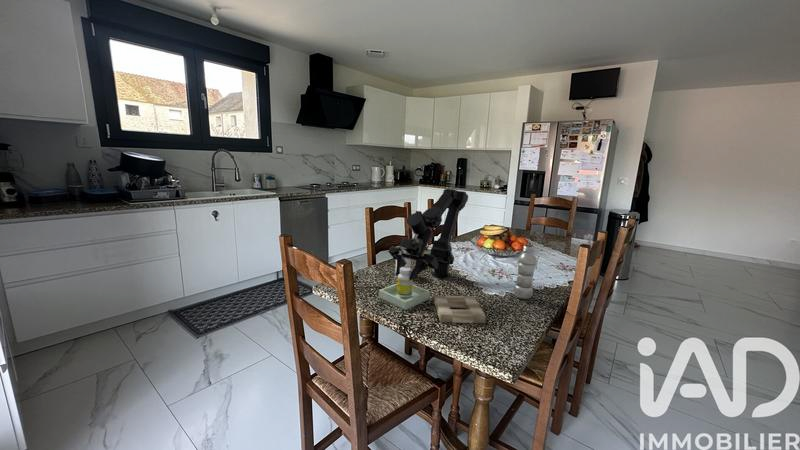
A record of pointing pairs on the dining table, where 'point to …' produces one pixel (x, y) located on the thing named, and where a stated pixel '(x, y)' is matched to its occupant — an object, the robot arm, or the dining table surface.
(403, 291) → the supplement bottle
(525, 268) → the plastic bottle
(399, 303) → the tray
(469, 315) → the socket block
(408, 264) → the can
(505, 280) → the dining table surface
